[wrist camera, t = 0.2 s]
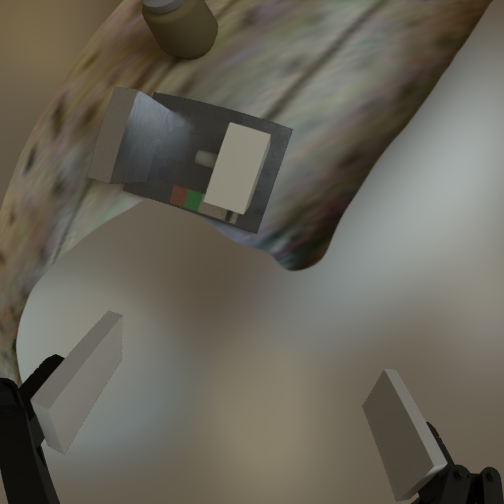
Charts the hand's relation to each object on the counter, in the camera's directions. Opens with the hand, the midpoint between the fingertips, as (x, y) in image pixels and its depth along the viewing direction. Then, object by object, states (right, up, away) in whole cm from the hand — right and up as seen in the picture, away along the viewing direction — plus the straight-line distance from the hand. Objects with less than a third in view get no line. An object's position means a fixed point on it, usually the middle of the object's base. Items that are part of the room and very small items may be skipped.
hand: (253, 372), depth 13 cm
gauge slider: (-3, +15, +23) cm, 27 cm away
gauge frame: (-6, +18, +24) cm, 31 cm away
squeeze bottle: (-8, +35, +20) cm, 41 cm away
